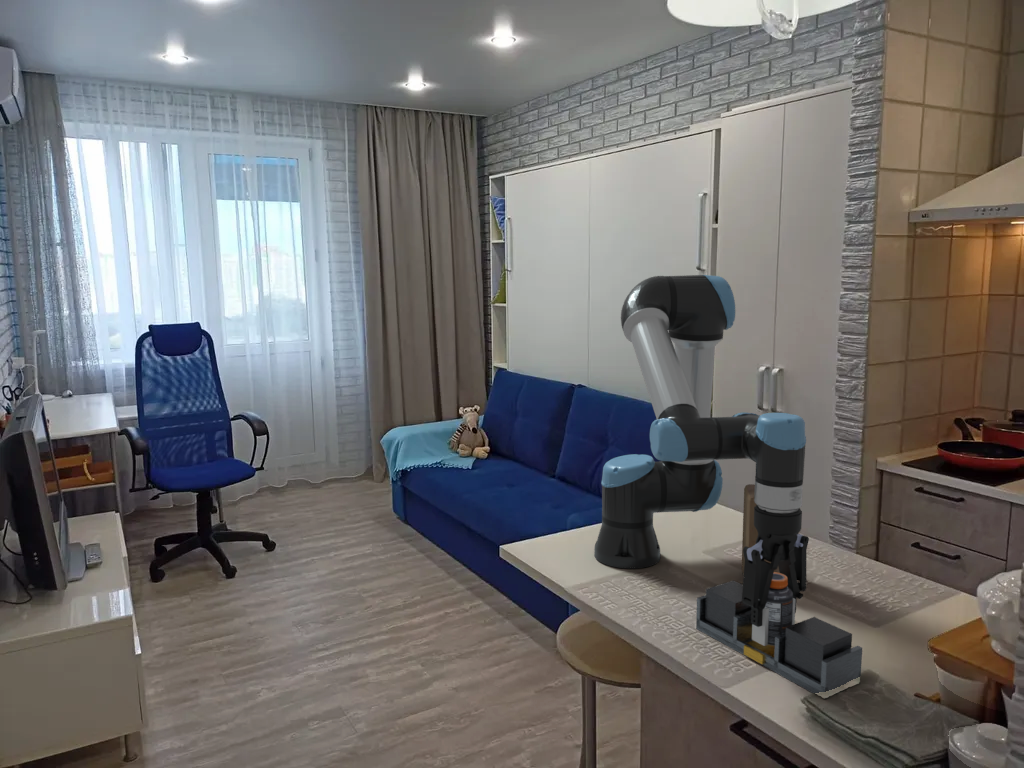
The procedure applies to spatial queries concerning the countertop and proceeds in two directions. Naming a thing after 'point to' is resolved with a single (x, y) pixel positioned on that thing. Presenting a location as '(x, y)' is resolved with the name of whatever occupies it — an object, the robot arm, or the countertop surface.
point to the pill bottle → (779, 607)
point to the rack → (781, 642)
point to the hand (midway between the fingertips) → (773, 636)
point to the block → (749, 522)
